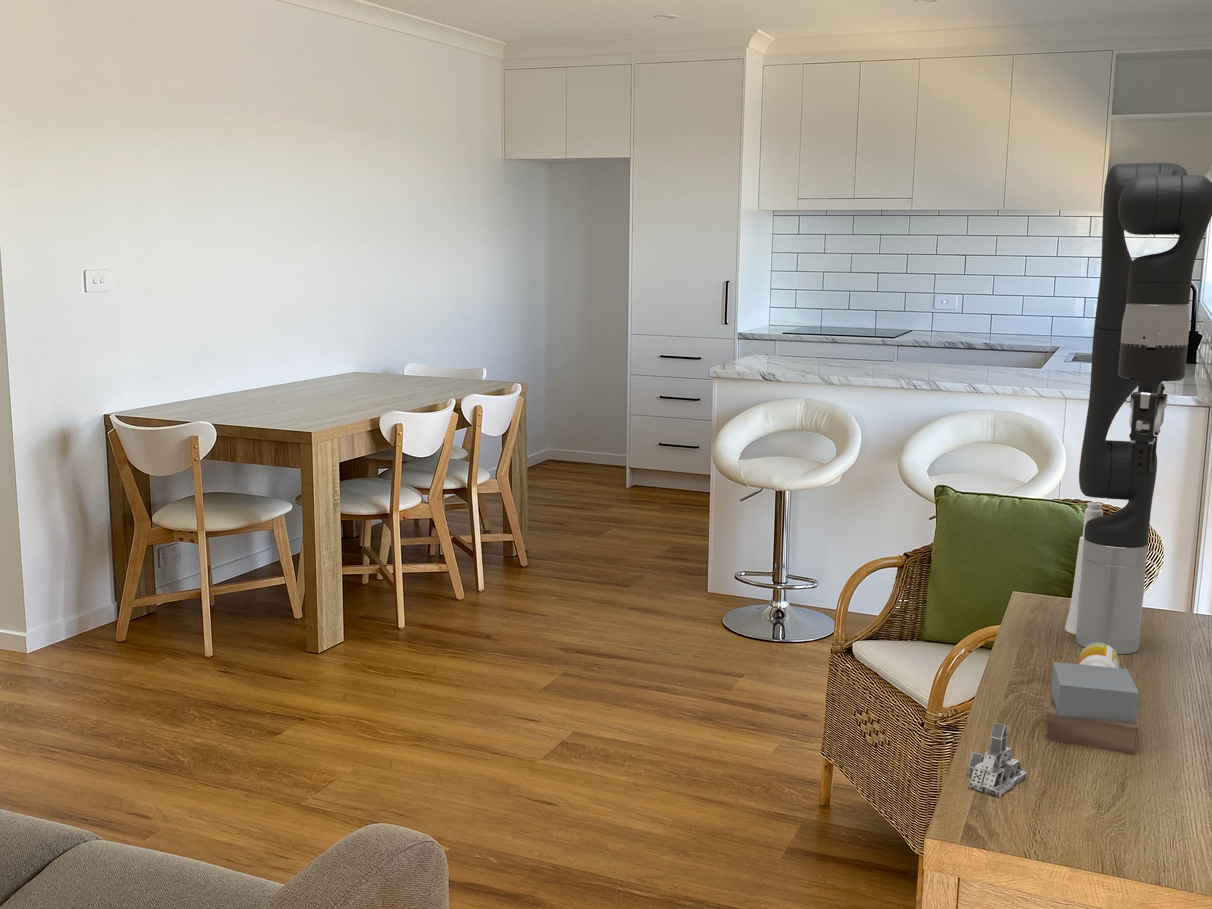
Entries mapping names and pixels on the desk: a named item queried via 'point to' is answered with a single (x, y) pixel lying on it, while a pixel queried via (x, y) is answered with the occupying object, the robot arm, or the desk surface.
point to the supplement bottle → (1099, 656)
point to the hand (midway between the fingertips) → (1142, 469)
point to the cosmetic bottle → (1080, 568)
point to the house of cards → (995, 766)
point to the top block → (1094, 692)
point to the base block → (1091, 732)
